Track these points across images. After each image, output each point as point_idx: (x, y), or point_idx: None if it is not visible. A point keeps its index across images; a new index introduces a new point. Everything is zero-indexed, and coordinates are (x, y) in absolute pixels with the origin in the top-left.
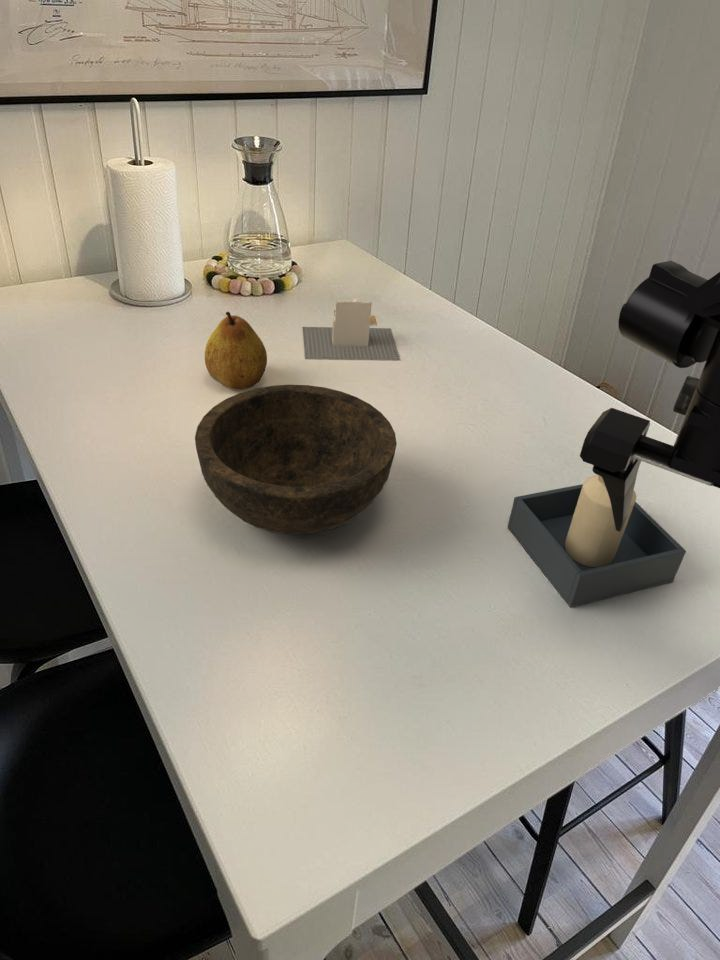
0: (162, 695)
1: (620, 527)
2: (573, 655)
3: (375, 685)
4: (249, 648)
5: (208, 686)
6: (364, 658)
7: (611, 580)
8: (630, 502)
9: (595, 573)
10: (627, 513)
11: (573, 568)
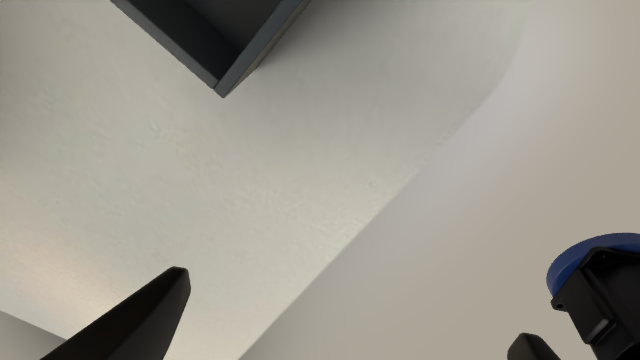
0: (31, 319)
1: (178, 320)
2: (290, 165)
3: (134, 272)
4: (26, 273)
5: (43, 307)
6: (103, 252)
7: (290, 20)
8: (121, 353)
9: (246, 69)
10: (155, 326)
11: (201, 79)
